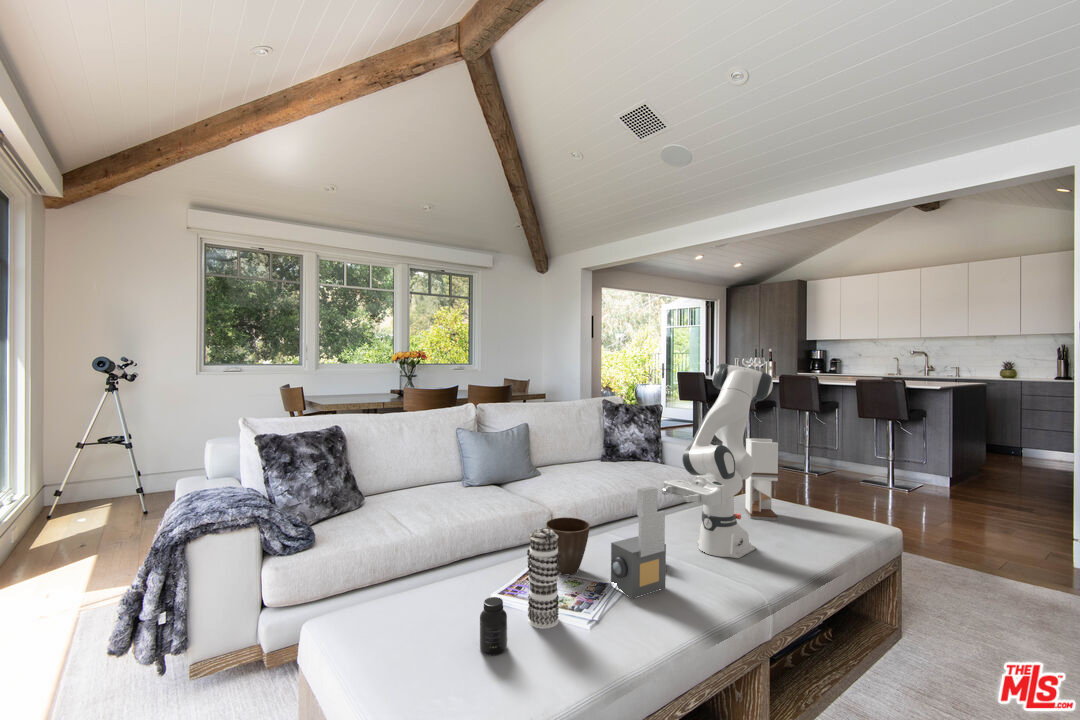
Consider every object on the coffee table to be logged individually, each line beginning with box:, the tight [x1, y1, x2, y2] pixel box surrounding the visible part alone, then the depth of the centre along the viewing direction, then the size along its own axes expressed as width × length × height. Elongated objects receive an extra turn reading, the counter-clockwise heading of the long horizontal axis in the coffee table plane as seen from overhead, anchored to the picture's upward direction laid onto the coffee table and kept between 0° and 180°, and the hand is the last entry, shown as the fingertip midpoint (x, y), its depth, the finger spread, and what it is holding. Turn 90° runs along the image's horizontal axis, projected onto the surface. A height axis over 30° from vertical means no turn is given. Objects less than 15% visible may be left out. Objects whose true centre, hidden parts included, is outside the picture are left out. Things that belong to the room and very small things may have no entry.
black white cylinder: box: [526, 527, 560, 630], centre depth 144 cm, size 9×9×25 cm
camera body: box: [610, 535, 667, 599], centre depth 164 cm, size 16×10×14 cm, turn 122°
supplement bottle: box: [479, 596, 508, 656], centre depth 130 cm, size 7×7×12 cm
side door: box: [636, 486, 666, 557], centre depth 160 cm, size 10×2×20 cm, turn 122°
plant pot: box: [545, 516, 591, 576], centre depth 177 cm, size 15×15×16 cm
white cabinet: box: [744, 438, 779, 521], centre depth 240 cm, size 11×11×35 cm
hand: (674, 495), depth 165 cm, fingers open, 8 cm apart
